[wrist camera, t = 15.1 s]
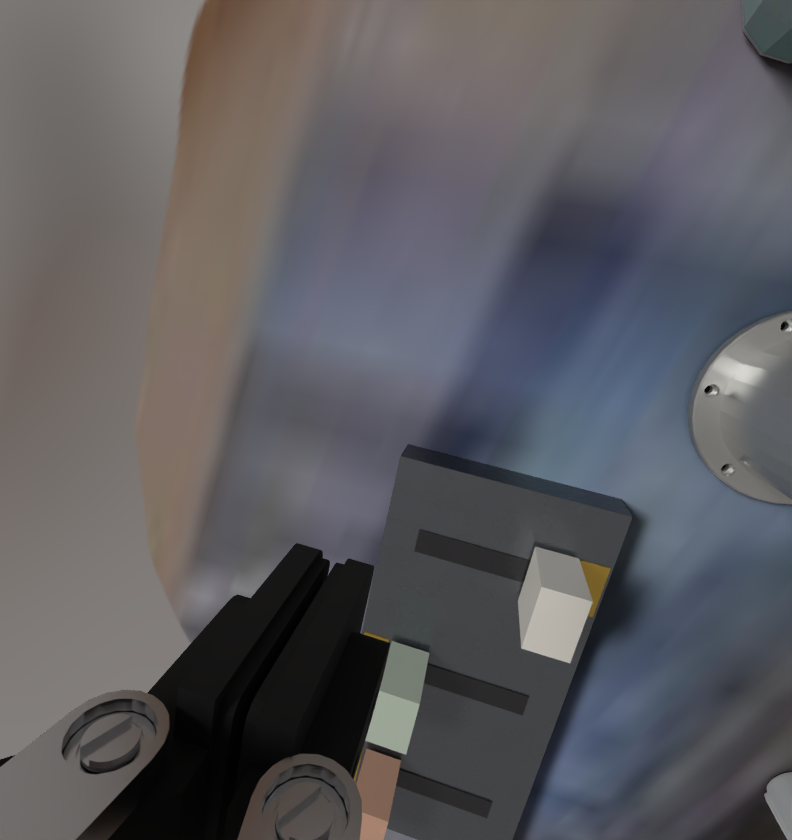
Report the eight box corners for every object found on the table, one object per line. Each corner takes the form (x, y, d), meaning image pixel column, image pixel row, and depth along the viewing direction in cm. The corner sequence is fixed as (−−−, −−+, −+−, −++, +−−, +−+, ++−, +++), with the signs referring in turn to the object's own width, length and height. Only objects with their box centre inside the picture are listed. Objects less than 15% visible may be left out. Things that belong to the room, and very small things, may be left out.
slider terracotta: (401, 760, 41) (388, 822, 36) (390, 800, 42) (376, 864, 37) (366, 748, 41) (349, 807, 36) (357, 788, 42) (339, 850, 37)
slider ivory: (579, 558, 33) (592, 601, 29) (560, 613, 35) (570, 663, 30) (535, 546, 34) (541, 586, 29) (517, 600, 35) (521, 648, 30)
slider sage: (429, 652, 38) (419, 704, 33) (417, 698, 39) (405, 754, 34) (392, 640, 38) (376, 689, 33) (381, 686, 39) (365, 740, 34)
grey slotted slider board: (621, 499, 35) (633, 517, 32) (500, 833, 45) (500, 871, 42) (408, 444, 38) (400, 456, 35) (335, 774, 47) (324, 806, 44)
